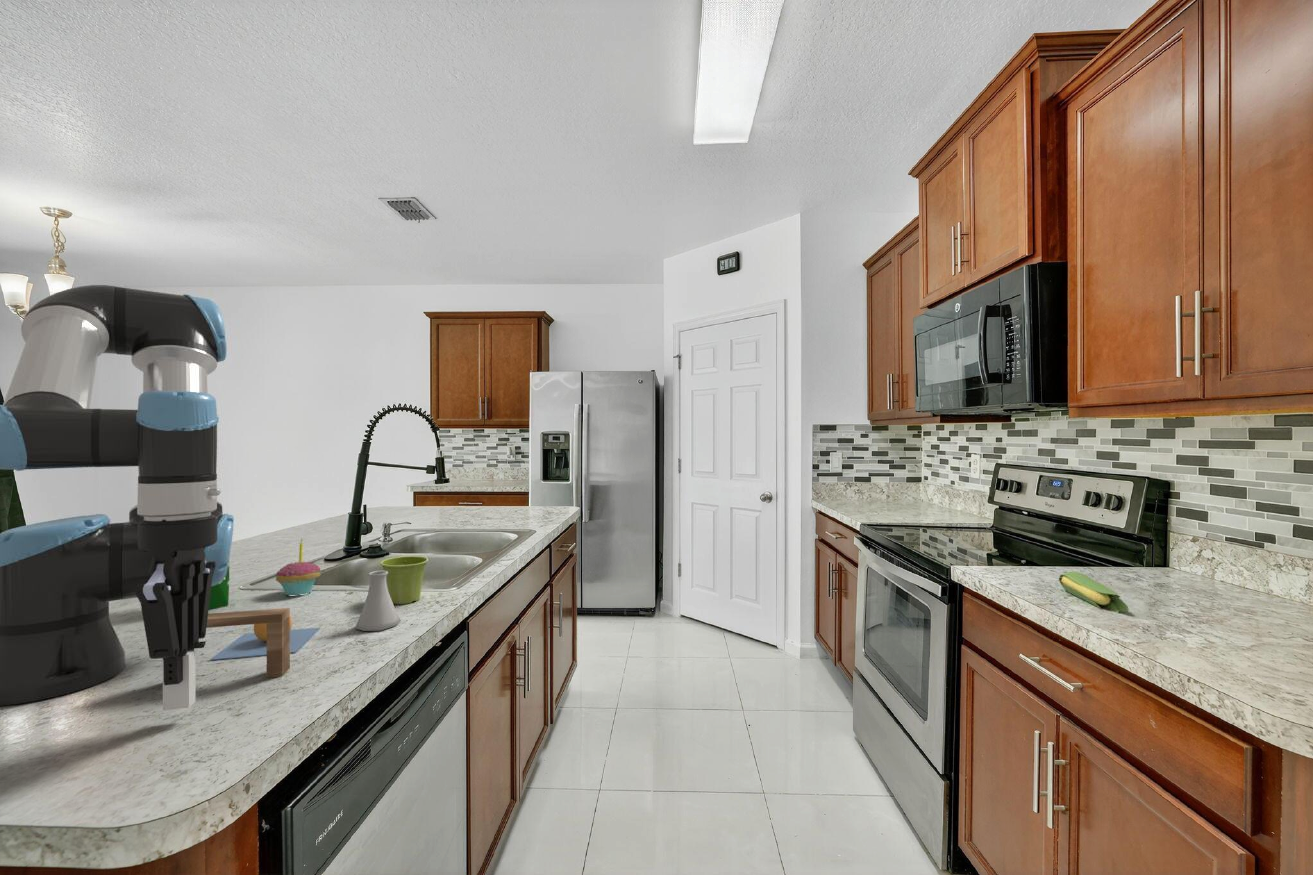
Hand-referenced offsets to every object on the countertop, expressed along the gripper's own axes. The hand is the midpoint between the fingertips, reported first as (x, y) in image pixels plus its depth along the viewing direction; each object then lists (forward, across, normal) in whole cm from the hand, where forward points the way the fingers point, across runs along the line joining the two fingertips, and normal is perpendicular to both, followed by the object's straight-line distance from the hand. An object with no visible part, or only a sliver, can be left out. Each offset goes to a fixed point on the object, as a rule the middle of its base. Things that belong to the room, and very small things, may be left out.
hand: (179, 705), depth 69 cm
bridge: (+2, +13, 0) cm, 13 cm away
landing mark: (+2, +27, 0) cm, 27 cm away
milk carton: (+2, +54, +22) cm, 58 cm away
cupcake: (+2, +60, +6) cm, 60 cm away
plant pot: (+2, +48, -18) cm, 51 cm away
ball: (-1, +28, 0) cm, 28 cm away
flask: (+2, +32, -16) cm, 36 cm away
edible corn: (+2, +9, -160) cm, 160 cm away
